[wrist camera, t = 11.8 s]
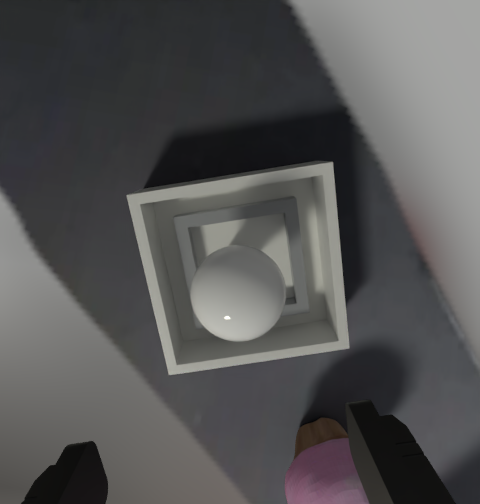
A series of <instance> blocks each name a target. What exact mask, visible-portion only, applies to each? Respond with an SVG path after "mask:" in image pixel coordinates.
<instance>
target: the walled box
mask: <svg viewBox="0 0 480 504" xmlns="http://www.w3.org/2000/svg"><path fill="white" fill-rule="evenodd" d="M127 199H128V203H129V208H130V212H131V216H132V220H133V225H134V229H135V233H136V237H137V242H138V246H139V250H140V254H141V258H142V263H143V267H144V271H145V275H146V280H147V284H148V288H149V292H150V296H151V301H152V305H153V309H154V313H155V318H156V322H157V326H158V330H159V335H160V339H161V343H162V347H163V351H164V356H165V360H166V364H167V368H168V373H169V375H174V374H181V373H187V372H194V371H201V370H208V369H214V368H221V367H228V366H234V365H241V364H248V363H255V362H261V361H268V360H275V359H282V358H288V357H295V356H302V355H309V354H315V353H322V352H329V351H335V350H342V349H349V338H348V327H347V315H346V304H345V293H344V282H343V270H342V259H341V248H340V237H339V225H338V214H337V203H336V191H335V180H334V169H333V162H328V161H312V162H306V163H300V164H294V165H287V166H281V167H275V168H269V169H263V170H256V171H250V172H244V173H238V174H232V175H225V176H219V177H213V178H207V179H201V180H195V181H188V182H182V183H176V184H170V185H164V186H157V187H151V188H145V189H141V190H139V191H136V192H133V193H131V194H128V195H127ZM231 245H245V246H250V247H254V248H256V249H259V250H261V251H262V252H264V253H266V254H267V255H268V256H269V257H271V258H272V259H273V260H274V262H275V263H276V264H277V265H278V267H279V268H280V270H281V272H282V274H283V277H284V280H285V284H286V302H285V306H284V309H283V312H282V314H281V316H280V318H279V320H278V321H277V322H276V324H275V325H274V326H273V327H272V328H271V329H270V330H269V331H268V332H266V333H265V334H263V335H262V336H260V337H258V338H255V339H252V340H248V341H241V342H236V341H228V340H225V339H222V338H219V337H217V336H215V335H213V334H212V333H210V332H209V331H208V330H207V329H206V328H204V326H203V325H202V324H201V323H200V322H199V320H198V319H197V317H196V315H195V313H194V311H193V308H192V304H191V296H190V290H191V283H192V279H193V276H194V274H195V272H196V270H197V268H198V266H199V265H200V264H201V262H202V261H203V260H204V259H205V258H206V257H207V256H208V255H210V254H211V253H213V252H214V251H216V250H218V249H220V248H223V247H226V246H231Z"/></svg>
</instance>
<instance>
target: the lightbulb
mask: <svg viewBox="0 0 480 504" xmlns="http://www.w3.org/2000/svg"><path fill="white" fill-rule="evenodd" d="M190 296H191V304H192V308H193V311H194V313H195V315H196V317H197V319H198V320H199V322H200V323H201V324H202V325H203V326H204V328H206V329H207V330H208V331H209V332H210V333H212V334H213V335H215V336H217V337H219V338H222V339H225V340H228V341H236V342H241V341H248V340H252V339H255V338H258V337H260V336H262V335H263V334H265V333H266V332H268V331H269V330H270V329H271V328H272V327H273V326H274V325H275V324H276V322H277V321H278V320H279V318H280V316H281V314H282V312H283V309H284V306H285V302H286V284H285V280H284V277H283V274H282V272H281V270H280V268H279V267H278V265H277V264H276V263H275V262H274V260H273V259H272V258H271V257H269V256H268V255H267V254H266V253H264V252H262V251H261V250H259V249H256V248H254V247H250V246H245V245H231V246H226V247H223V248H220V249H218V250H216V251H214V252H213V253H211V254H210V255H208V256H207V257H206V258H205V259H204V260H203V261H202V262H201V264H200V265H199V266H198V268H197V270H196V272H195V274H194V276H193V279H192V283H191V290H190Z"/></svg>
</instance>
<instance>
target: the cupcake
mask: <svg viewBox="0 0 480 504" xmlns="http://www.w3.org/2000/svg"><path fill="white" fill-rule="evenodd" d="M285 493H286V498H287V502H288V504H369V501H368V499H367V496H366V494H365V491H364V488H363V486H362V483H361V481H360V478H359V476H358V473H357V470H356V468H355V465H354V462H353V459H352V455H351V451H350V446H349V438H348V434H347V433H346V431H345V430H344V429H343V427H342V426H341V425H340V424H339V423H338V422H337V421H335V420H333V419H329V418H319V419H318V420H316V421H314V422H312V423H308V424H305V425H303V426H302V427H300V428H299V430H298V433H297V437H296V444H295V456H294V460H293V462H292V464H291V466H290V467H289V469H288V471H287V473H286V478H285Z"/></svg>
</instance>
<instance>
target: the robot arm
mask: <svg viewBox="0 0 480 504" xmlns="http://www.w3.org/2000/svg"><path fill="white" fill-rule="evenodd" d="M345 409H346V419H347V428H348V438H349V446H350V451H351V455H352V459H353V462H354V465H355V468H356V470H357V473H358V476H359V478H360V481H361V483H362V486H363V488H364V491H365V494H366V496H367V499H368V501H369V504H456V503H455V502H454V500H453V498H452V497H451V495H450V494H449V492H448V490H447V489H446V487H445V486H444V484H443V483H442V481H441V479H440V478H439V476H438V475H437V473H436V472H435V470H434V468H433V467H432V465H431V464H430V462H429V461H428V459H427V457H426V456H424V453H423V451H422V450H421V448H420V446H419V445H418V443H416V440H415V439H414V437H413V435H412V434H411V432H410V431H409V429H408V428H407V426H406V425H405V424H403V423H402V422H401V421H399V420H398V419H397V418H396V417H394V416H393V415H386V416H379V414H378V412H377V411H376V409H375V407H374V405H373V403H372V402H371V400H362V401H356V402H349V403H346V404H345ZM107 494H108V481H107V477H106V474H105V471H104V468H103V464H102V462H101V458H100V455H99V452H98V449H97V446H96V444H95V443H94V442H93V441H89V442H83V443H76V444H70V445H68V446H66V447H65V449H64V450H63V452H62V454H61V456H60V458H59V459H58V461H57V463H56V465H51V466H49V467H48V468H47V469H46V470H45V471H44V472H43V473H42V474H41V475H40V476H39V477H38V478H37V479H36V480H35V481H34V483H33V485H32V486H31V488H30V490H29V492H28V493H27V495H26V497H25V500H24V501H23V502H22V503H21V504H105V503H106V500H107Z"/></svg>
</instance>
